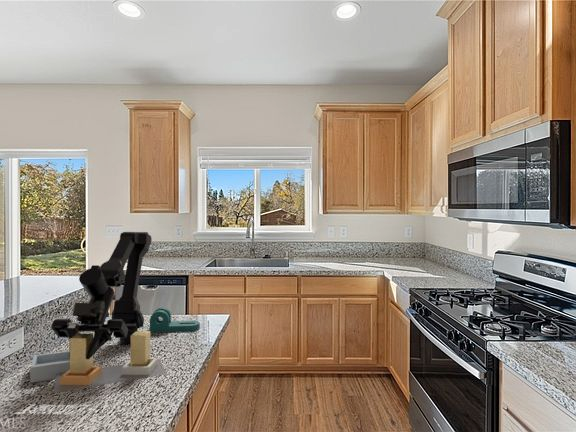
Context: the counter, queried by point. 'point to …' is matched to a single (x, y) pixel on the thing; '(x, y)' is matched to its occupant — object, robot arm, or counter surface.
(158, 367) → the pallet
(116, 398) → the counter surface
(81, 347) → the block
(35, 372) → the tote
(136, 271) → the robot arm
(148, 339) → the block
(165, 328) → the bracket
